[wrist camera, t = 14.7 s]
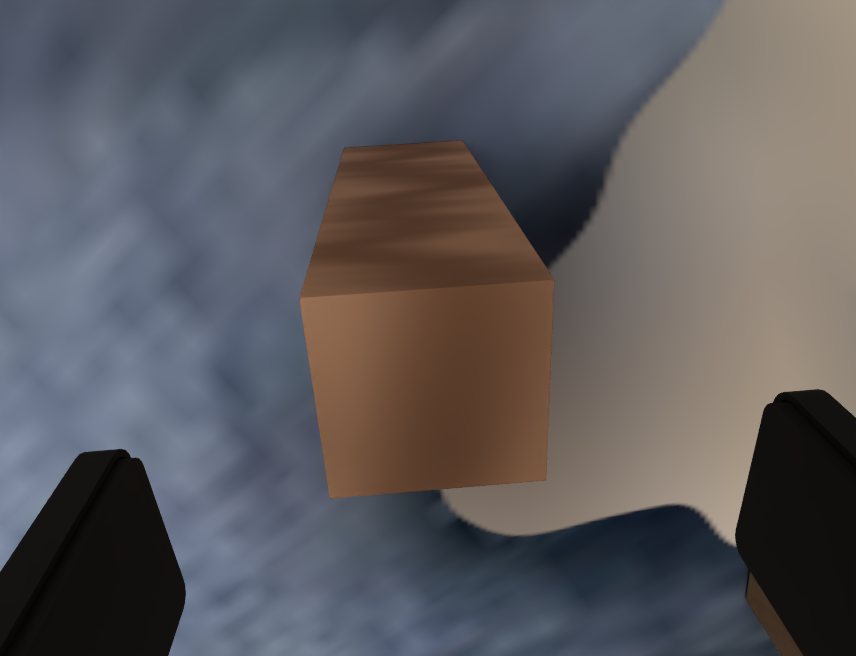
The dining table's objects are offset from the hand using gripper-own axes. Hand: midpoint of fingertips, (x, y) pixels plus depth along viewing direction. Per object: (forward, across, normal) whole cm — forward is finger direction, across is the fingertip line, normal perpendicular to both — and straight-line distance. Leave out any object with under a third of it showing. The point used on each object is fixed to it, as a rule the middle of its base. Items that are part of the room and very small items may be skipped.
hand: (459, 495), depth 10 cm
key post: (+20, 0, +1) cm, 20 cm away
